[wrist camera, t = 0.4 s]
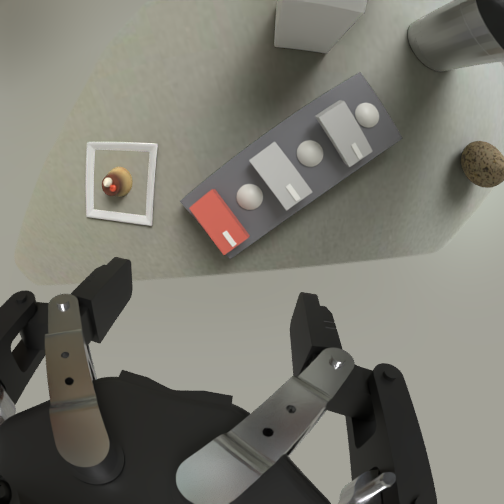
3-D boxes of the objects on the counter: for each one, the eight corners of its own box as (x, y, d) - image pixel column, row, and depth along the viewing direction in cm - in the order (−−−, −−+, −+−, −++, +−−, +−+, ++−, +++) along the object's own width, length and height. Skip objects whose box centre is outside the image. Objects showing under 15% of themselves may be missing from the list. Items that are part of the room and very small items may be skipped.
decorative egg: (446, 163, 34) (486, 175, 25) (462, 130, 31) (503, 135, 22) (468, 189, 35) (507, 205, 26) (484, 157, 33) (523, 167, 24)
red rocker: (215, 189, 33) (211, 189, 31) (249, 235, 34) (247, 238, 32) (192, 207, 34) (188, 208, 32) (226, 252, 34) (223, 255, 33)
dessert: (154, 223, 40) (143, 235, 36) (89, 214, 40) (73, 224, 35) (160, 143, 35) (147, 144, 31) (90, 141, 35) (73, 143, 30)
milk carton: (326, 54, 29) (381, -3, 12) (273, 47, 29) (286, -23, 12) (327, 13, 26) (373, -57, 9) (276, 6, 26) (288, -74, 9)
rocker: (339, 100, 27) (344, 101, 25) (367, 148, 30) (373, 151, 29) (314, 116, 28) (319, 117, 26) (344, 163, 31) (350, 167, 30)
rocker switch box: (350, 77, 30) (360, 71, 26) (389, 137, 33) (403, 138, 29) (187, 194, 38) (179, 201, 34) (232, 247, 41) (229, 260, 37)
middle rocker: (275, 143, 30) (274, 141, 29) (311, 191, 31) (312, 192, 30) (250, 161, 31) (248, 160, 30) (286, 209, 32) (286, 210, 31)
